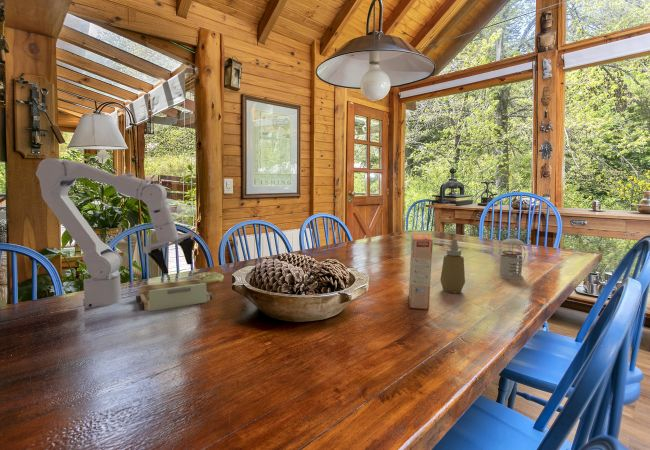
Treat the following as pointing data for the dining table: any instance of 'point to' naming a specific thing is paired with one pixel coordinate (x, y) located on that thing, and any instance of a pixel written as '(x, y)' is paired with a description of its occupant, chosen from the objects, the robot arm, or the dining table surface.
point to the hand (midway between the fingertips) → (178, 268)
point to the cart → (144, 290)
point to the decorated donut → (209, 277)
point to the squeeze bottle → (453, 270)
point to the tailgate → (177, 296)
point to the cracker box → (420, 270)
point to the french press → (511, 260)
